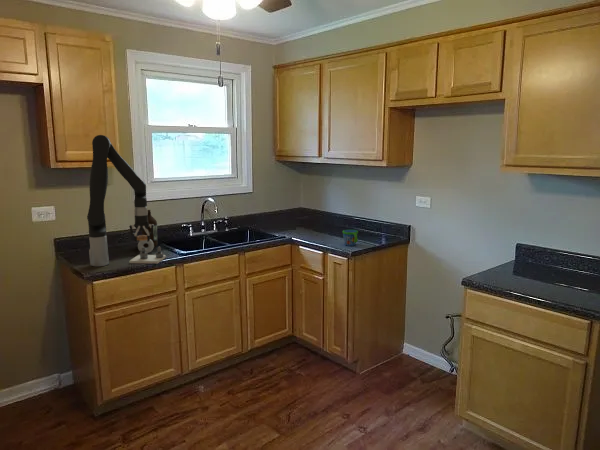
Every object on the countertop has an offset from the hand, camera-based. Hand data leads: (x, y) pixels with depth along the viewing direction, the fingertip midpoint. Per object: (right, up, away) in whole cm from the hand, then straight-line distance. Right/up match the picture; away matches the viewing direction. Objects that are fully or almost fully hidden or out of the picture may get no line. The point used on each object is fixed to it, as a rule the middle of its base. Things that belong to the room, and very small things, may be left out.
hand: (142, 241), depth 269 cm
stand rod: (0, -10, +2) cm, 10 cm away
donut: (-4, -9, +20) cm, 22 cm away
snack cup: (+130, -4, +41) cm, 136 cm away
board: (+2, -11, +3) cm, 12 cm away
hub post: (+9, -10, +5) cm, 14 cm away
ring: (0, +1, 0) cm, 1 cm away
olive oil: (-9, -5, +40) cm, 41 cm away
